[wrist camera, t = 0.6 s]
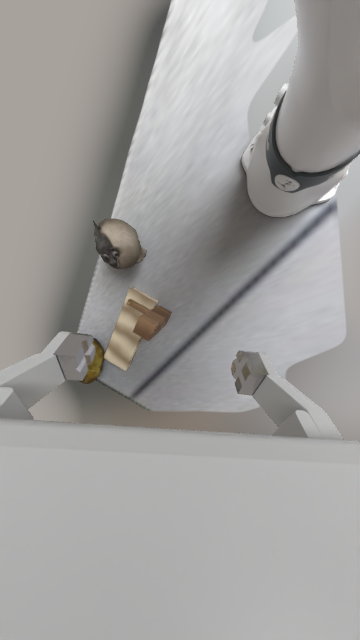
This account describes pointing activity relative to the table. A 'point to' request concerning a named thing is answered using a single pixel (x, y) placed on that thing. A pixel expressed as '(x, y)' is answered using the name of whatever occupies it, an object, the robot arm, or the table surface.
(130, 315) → the plank
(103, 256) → the round clay pot
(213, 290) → the table surface
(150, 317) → the wooden block
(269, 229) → the table surface
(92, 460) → the robot arm
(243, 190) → the table surface
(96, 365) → the potato
